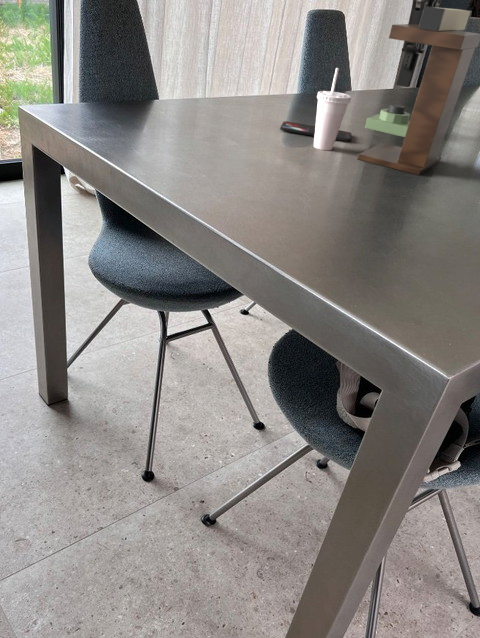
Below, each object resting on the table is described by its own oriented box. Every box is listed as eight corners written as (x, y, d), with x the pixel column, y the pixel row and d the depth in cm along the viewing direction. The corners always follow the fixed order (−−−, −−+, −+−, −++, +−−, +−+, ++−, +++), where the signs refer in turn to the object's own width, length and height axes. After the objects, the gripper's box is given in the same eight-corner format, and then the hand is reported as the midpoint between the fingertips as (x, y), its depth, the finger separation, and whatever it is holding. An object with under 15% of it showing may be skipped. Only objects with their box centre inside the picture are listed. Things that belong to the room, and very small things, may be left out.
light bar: (466, 30, 107) (472, 10, 105) (436, 31, 91) (443, 8, 90) (449, 27, 108) (455, 8, 107) (418, 28, 93) (424, 6, 91)
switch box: (416, 132, 133) (421, 114, 131) (406, 137, 128) (412, 118, 125) (375, 123, 137) (380, 105, 135) (364, 128, 132) (369, 109, 129)
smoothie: (315, 141, 116) (331, 64, 107) (344, 149, 113) (363, 70, 105) (301, 146, 111) (317, 66, 103) (330, 154, 108) (349, 72, 100)
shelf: (438, 161, 113) (482, 34, 100) (419, 175, 103) (464, 35, 90) (380, 147, 117) (415, 24, 104) (357, 159, 107) (392, 24, 95)
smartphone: (351, 139, 117) (279, 127, 119) (350, 142, 118) (279, 130, 119) (351, 132, 123) (283, 120, 125) (350, 135, 123) (283, 123, 125)
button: (405, 114, 131) (407, 106, 130) (400, 116, 128) (402, 108, 127) (390, 111, 132) (392, 103, 131) (385, 113, 130) (387, 104, 129)
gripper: (430, -44, 119) (395, 80, 133) (412, -49, 110) (377, 84, 124) (466, -40, 116) (427, 86, 130) (451, -45, 107) (411, 91, 121)
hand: (402, 85), depth 127 cm, fingers closed
